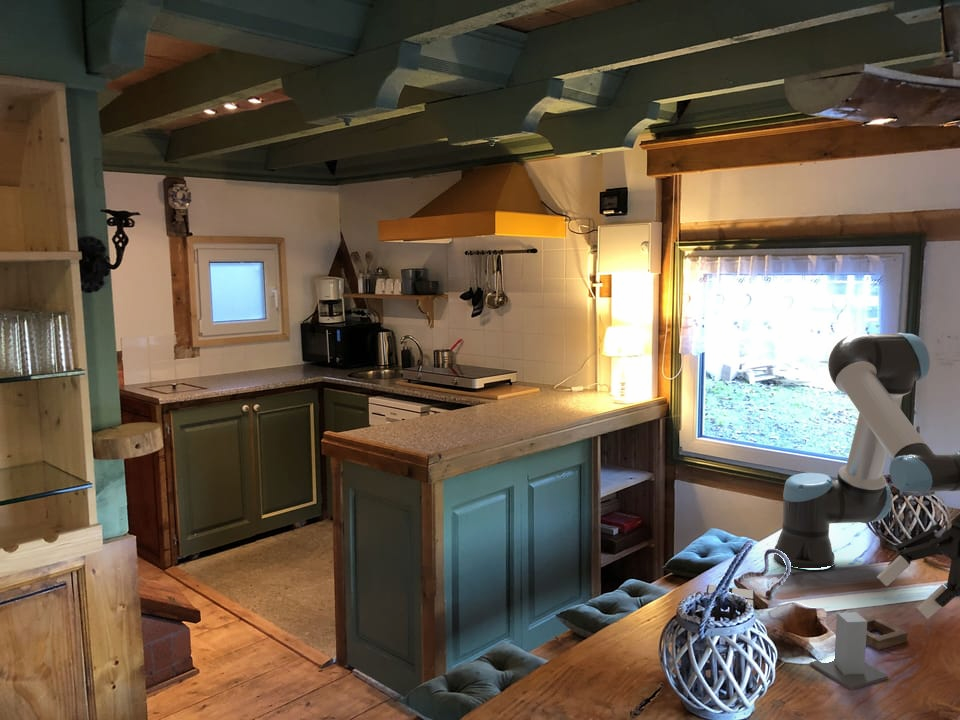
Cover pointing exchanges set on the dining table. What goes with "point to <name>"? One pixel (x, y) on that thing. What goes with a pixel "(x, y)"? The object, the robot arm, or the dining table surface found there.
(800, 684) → the dining table surface
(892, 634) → the frame
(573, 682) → the dining table surface
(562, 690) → the dining table surface
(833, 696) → the dining table surface
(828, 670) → the rubber pad
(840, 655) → the slate block
